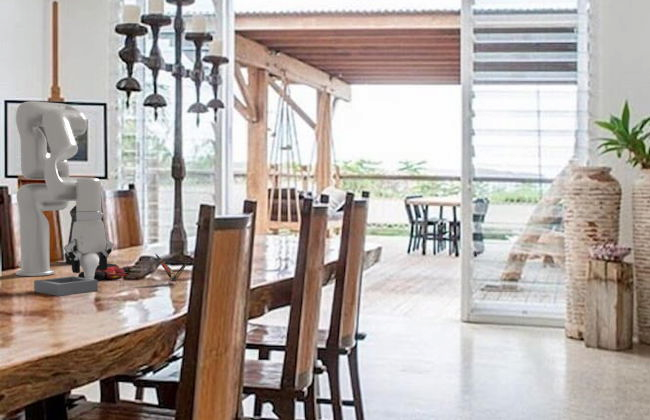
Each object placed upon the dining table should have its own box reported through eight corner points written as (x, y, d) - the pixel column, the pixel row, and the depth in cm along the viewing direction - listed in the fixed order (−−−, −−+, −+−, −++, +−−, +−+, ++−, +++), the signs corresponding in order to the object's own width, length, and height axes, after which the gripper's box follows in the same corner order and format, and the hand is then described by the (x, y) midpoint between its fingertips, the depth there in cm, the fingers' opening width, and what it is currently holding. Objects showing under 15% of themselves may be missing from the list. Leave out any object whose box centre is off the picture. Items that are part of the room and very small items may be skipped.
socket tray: (34, 291, 225) (34, 280, 225) (73, 286, 235) (72, 276, 235) (58, 296, 217) (58, 284, 217) (97, 290, 227) (97, 279, 227)
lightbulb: (81, 286, 235) (80, 251, 235) (77, 284, 241) (77, 249, 240) (101, 285, 238) (101, 250, 237) (97, 283, 243) (97, 249, 243)
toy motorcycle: (76, 286, 247) (124, 279, 246) (73, 270, 247) (121, 263, 246) (100, 278, 272) (144, 271, 271) (98, 264, 272) (142, 257, 271)
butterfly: (150, 286, 237) (150, 254, 236) (158, 282, 246) (158, 251, 246) (188, 287, 236) (188, 255, 236) (195, 282, 246) (195, 252, 245)
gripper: (105, 215, 247) (106, 268, 248) (57, 217, 234) (58, 273, 234) (119, 216, 243) (120, 269, 243) (71, 218, 229) (72, 274, 230)
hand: (89, 271), depth 239 cm, fingers open, 9 cm apart
